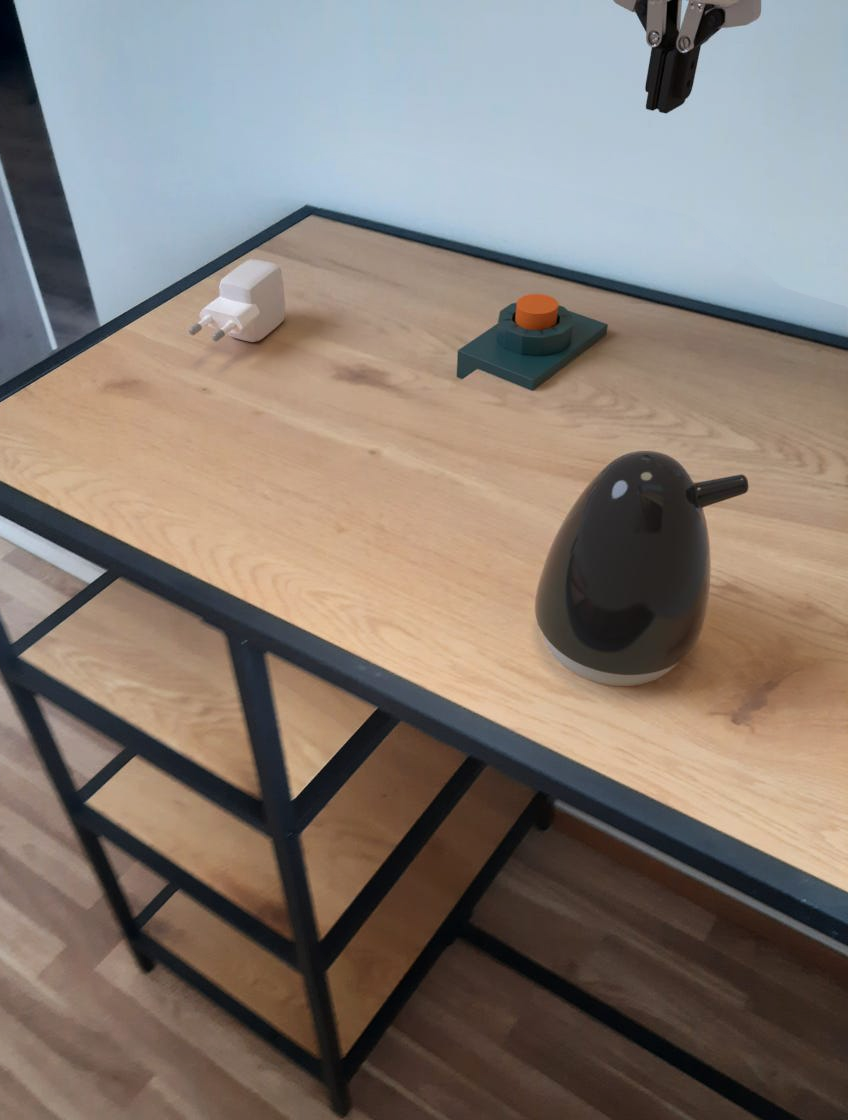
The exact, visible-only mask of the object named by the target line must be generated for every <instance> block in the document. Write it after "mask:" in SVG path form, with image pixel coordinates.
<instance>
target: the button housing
mask: <svg viewBox="0 0 848 1120" xmlns="http://www.w3.org/2000/svg"><path fill="white" fill-rule="evenodd" d="M516 305H517V302H512V303H510V304H508V305H507V306H505V307H503V308H502V309H501V310H500V311H499V314H498V319H497V323H496V324H495V325H493V326H491V327H490V328H489V329H487V330H485V331H484V332H483V333H481V334H480V335H478V336H477V337H475V338H474V339H473V340H470V341H469V342H468V343H466V344H465V345H463V346H462V347H460V348H459V349H458V350H457V356H456V357H457V359H456V378H457V379H460V380H464V379H465V378H467V377H468V376H469V375H471V374H472V373H474V372H475V371H476V370H479V371H482V372H485V373H487V374H489V375H492V376H494V377H497V378H500V379H502V380H504V381H507V382H509V383H511V384H515V385H516V386H519V387H521V388H524V389H526V390H529V391H531V392H533V391H535V390H536V389H537V388H538V387H540V386H541V385H542V384H544V383H545V382H546V381H548V380H549V379H551V378H552V377H553V376H554V375H556V374H557V373H558V372H560V371H561V370H562V369H563V368H565V367H566V366H567V365H569V364H570V363H572V361H574V360H576V359H577V358H578V357H579V356H580V355H582V354H584V352H586V351H587V350H588V349H589V348H591V347H592V346H593V345H595V344H596V343H598V342H599V341H600V340H601V339H603V338H604V337H605V336H606V335H607V333H608V327H609V324H608V323H606V322H603V321H600V320H597V319H594V318H592V317H588V316H585V315H583V314H580V313H576V312H574V311H571V310H569V309H567V308H566V307H565V306H562V305H560V304H558V305H559V306H558V314H557V322H556V325H555V326H554V327H553V328H551V329H546V330H541V331H539V330H528V329H525V328H522V327H520V326H517V325H516V323H515V316H516Z"/></svg>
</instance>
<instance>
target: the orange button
mask: <svg viewBox="0 0 848 1120" xmlns="http://www.w3.org/2000/svg"><path fill="white" fill-rule="evenodd" d="M516 303H517V305H516V316H515V323H516V325H517V326H520V327H522V328H525V329H528V330H539V331H541V330H546V329H551V328H553V327H554V326H555V325H556V322H557V314H558V306H559V305H560V304H559V302H558V300H557V299H556V298H554V297H553V296H550V295H547V294H543V293H531V294H526V295H523V296H521V297H519V298H518V299H517V301H516Z"/></svg>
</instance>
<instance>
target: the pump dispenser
mask: <svg viewBox="0 0 848 1120" xmlns="http://www.w3.org/2000/svg"><path fill="white" fill-rule="evenodd" d="M749 487H750V486H749V481H748V478H747V476H746V475H744V474H741V473H740V474H736V475H731V476H725V477H724V476H723V477H719V478H714V479H709V480H704V481H697V482H694V481H693V479H692V477H691V476H690V474H689V472H688V471H687V470H686V469H685V467H684V466H683V465H682V464H681V463H680V462H679V461H678V460H677V459H675V458H673V457H672V456H670V455H668V454H665V453H663V452H658V451H656V450H655V451H654V450H638V451H633V452H628V453H625V454H623V455H621V456H619V457H617V458H615V459H614V460H612V461H611V462H610V463H608V464H607V465H606V466H605V467H603V468H602V469H601V470H600V471H599V472H598V473H597V474H596V475H595V476H594V477H593V478H592V479H591V481H590V482H589V483H588V484H587V485H586V487H585V488H584V489H583V490H582V492H581V493H580V495H579V496H578V498H577V499H576V500H575V502H574V503H573V505H572V506H571V507H570V509H569V511H568V513H567V514H566V515H565V517H564V520H562V523H561V524H560V526H559V528H558V531H557V532H556V534H555V537H554V538H553V540H552V543H551V546H550V548H549V550H548V552H547V554H546V558H545V560H544V561H545V562H544V563H543V567H542V569H541V573H540V575H539V580H538V584H537V587H536V593H535V599H534V615H535V619H536V623H537V625H538V627H539V630H540V631H541V633H542V636H543V639H544V642H545V644H546V646H547V648H548V650H549V651H550V653H551V654H552V656H553V657H554V658H555V660H557V662H559V663H560V664H561V665H562V666H563V667H564V668H565V669H567V670H568V671H569V672H571V673H572V674H575V675H576V676H578V677H580V678H582V679H585V680H587V681H590V682H592V683H596V684H600V685H605V686H612V687H633V686H640V685H645V684H648V683H651V682H654V681H656V680H657V679H659V678H662V677H663V676H665V675H667V674H668V673H669V672H670V671H671V670H673V669H674V667H676V666H677V664H679V663H680V662H681V661H683V660H684V659H686V658H687V657H688V656H689V655H690V654H691V653H692V651H693V650H694V649H695V648H696V646H697V644H698V642H699V640H700V638H701V634H702V631H703V629H704V625H705V621H706V616H707V612H708V604H709V596H710V588H711V573H712V560H711V559H712V558H711V556H712V555H711V544H710V536H709V529H708V528H709V527H708V524H707V518H706V515H705V511H704V508H706V507H709V506H711V505H714V504H717V503H722V502H723V501H727V500H729V499H730V500H731V499H733V498H737V497H739V496H743V495H745V494H747V493H748V491H749Z"/></svg>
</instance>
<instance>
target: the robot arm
mask: <svg viewBox="0 0 848 1120" xmlns="http://www.w3.org/2000/svg"><path fill="white" fill-rule="evenodd" d="M687 1H688V3H687V6H686V9H685V13H684V16H683V19H682V23H681V18H682V5H683V0H613V2H614V3H615V4H616V5H618V6H620V7H621V8H623V9H625V10H627V11H629V12H631V13H635V14H636V16H637V18H638V20H639V22H640V24H641V25H642V28H643V29H644V31H645V34H646V35H645V41H646V44H647V45H648V46H649V47H650V48H651V50H650V55H649V56H650V57H649V62H648V68H647V74H646V80H645V86H644V90H645V92H646V93H647V96H646V102H645V109H646V110H648V111H652V112H655V111H656V110H657V111H658V112H659V113H661V114H669V113H670V112H672V111H674V110H675V109H677V108H679V107H681V106H683V105H684V104H685V103H686V99H688V98H689V97H690V96H691V93H692V91H693V87H694V82H695V77H696V72H697V68H698V61H699V57H700V52H701V47H702V46H703V45H704V44H706V43H707V42H708V41H709V40H710V39H711V38H712V37H713V36H714V35H715V34H716V33H718V32H719V31H720V30H721V29H729V28H735V27H736V28H737V27H742V26H748V25H750V24H752V23H754V22H756V21H757V20H759V18H760V17H761V12H762V0H687Z"/></svg>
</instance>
